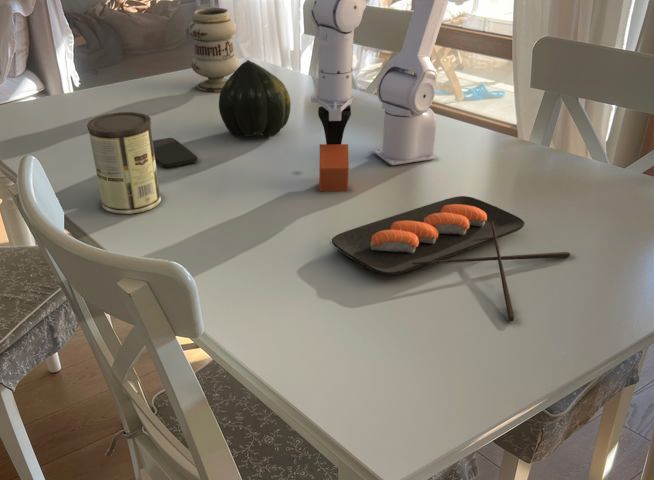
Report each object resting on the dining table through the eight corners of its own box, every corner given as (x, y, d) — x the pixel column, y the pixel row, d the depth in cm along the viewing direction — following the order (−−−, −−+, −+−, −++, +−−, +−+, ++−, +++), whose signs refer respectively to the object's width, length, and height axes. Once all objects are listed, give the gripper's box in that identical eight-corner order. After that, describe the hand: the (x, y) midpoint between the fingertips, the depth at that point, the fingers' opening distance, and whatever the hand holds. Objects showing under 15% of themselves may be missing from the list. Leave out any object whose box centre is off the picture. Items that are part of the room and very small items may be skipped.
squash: (272, 124, 140) (284, 52, 141) (202, 121, 144) (214, 51, 145) (290, 152, 153) (301, 87, 154) (226, 149, 157) (237, 85, 159)
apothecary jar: (188, 92, 179) (180, 15, 169) (199, 80, 189) (193, 6, 179) (234, 93, 177) (230, 15, 167) (244, 81, 187) (240, 6, 177)
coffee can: (119, 188, 129) (107, 109, 121) (170, 194, 126) (161, 114, 118) (89, 210, 121) (74, 128, 113) (143, 217, 118) (131, 133, 110)
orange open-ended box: (347, 190, 125) (348, 167, 121) (319, 190, 126) (319, 168, 122) (347, 167, 129) (348, 144, 125) (319, 167, 130) (319, 144, 126)
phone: (172, 136, 149) (199, 157, 138) (173, 140, 150) (199, 161, 138) (138, 143, 146) (163, 164, 135) (139, 147, 147) (163, 169, 136)
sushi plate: (463, 203, 120) (466, 181, 117) (619, 274, 99) (626, 249, 96) (322, 249, 107) (323, 226, 105) (467, 341, 86) (472, 315, 84)
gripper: (312, 59, 125) (311, 136, 133) (310, 81, 113) (310, 163, 121) (352, 59, 125) (349, 135, 133) (355, 81, 113) (352, 163, 121)
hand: (333, 149), depth 127 cm, fingers closed
